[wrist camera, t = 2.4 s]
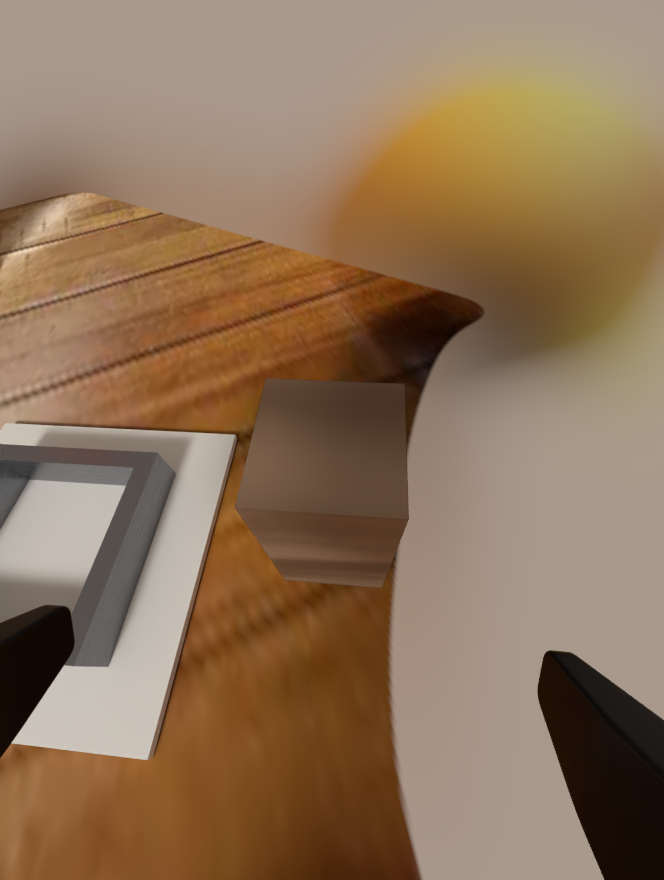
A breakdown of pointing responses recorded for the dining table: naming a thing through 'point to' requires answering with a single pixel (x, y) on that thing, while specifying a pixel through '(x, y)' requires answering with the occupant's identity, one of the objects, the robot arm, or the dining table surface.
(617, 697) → the robot arm
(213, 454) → the mat
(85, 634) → the collar
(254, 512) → the walnut block
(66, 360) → the dining table surface
